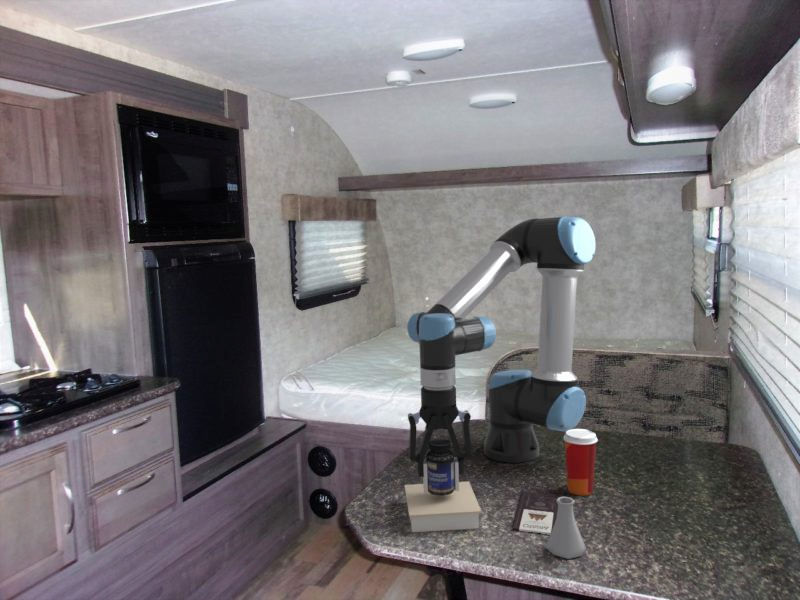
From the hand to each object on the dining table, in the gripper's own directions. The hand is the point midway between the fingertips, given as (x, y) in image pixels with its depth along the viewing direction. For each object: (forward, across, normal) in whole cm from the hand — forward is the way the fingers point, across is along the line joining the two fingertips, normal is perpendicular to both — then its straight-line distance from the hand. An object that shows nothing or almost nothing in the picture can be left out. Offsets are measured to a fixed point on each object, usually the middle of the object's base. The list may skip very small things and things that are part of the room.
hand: (440, 489), depth 130 cm
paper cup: (+6, +34, +8) cm, 35 cm away
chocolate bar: (+6, +21, -2) cm, 22 cm away
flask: (+6, +22, -17) cm, 28 cm away
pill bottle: (0, 0, 0) cm, 0 cm away
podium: (+6, 0, 0) cm, 6 cm away
